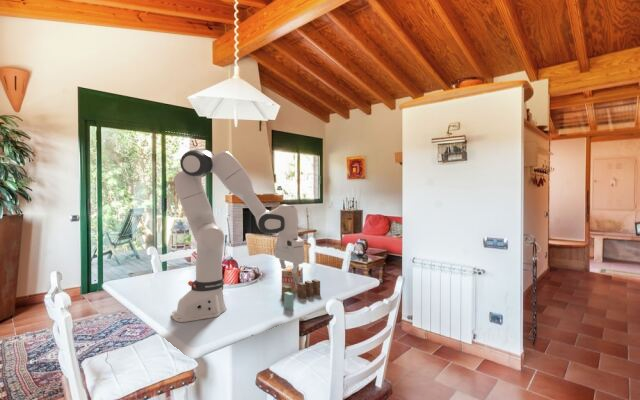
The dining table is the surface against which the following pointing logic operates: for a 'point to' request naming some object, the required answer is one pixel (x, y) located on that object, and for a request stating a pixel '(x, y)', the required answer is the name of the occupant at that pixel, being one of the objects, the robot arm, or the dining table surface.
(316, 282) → the domino
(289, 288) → the domino
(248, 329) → the dining table surface
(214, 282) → the robot arm
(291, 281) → the printed cardboard box
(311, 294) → the domino
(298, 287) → the domino
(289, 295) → the teal domino
